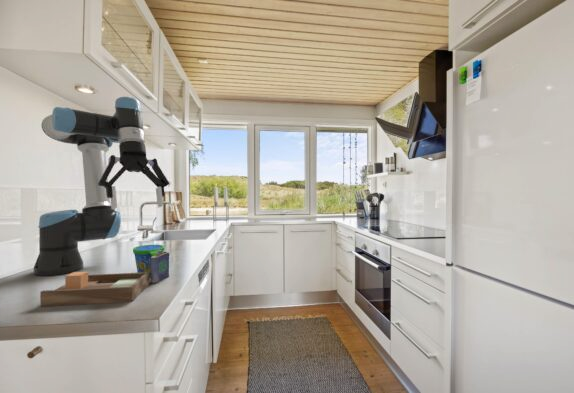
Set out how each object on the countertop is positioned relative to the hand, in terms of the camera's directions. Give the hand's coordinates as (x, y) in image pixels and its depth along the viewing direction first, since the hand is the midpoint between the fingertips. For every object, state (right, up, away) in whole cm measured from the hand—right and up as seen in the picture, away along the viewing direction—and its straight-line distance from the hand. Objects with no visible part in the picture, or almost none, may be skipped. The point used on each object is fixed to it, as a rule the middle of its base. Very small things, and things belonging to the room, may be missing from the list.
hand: (138, 207), depth 88 cm
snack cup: (-5, -26, +17) cm, 31 cm away
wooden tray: (-9, -26, -4) cm, 28 cm away
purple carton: (+2, -26, +10) cm, 28 cm away
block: (-16, -23, -5) cm, 29 cm away
